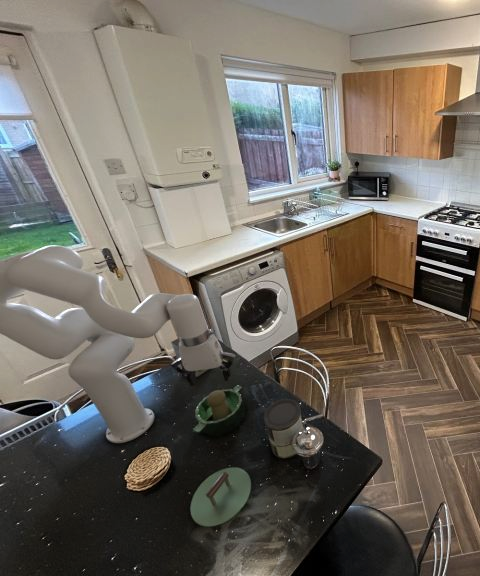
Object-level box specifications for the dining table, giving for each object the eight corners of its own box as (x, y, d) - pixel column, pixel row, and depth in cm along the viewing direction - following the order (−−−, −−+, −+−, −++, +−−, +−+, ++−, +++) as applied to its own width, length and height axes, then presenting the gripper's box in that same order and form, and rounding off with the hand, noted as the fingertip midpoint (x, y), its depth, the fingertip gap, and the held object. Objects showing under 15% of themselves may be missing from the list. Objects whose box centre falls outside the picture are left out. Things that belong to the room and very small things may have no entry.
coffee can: (264, 453, 94) (255, 422, 87) (284, 425, 102) (278, 395, 96) (293, 464, 91) (286, 433, 84) (311, 434, 99) (307, 404, 93)
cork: (225, 426, 101) (217, 403, 96) (209, 423, 102) (200, 400, 97) (236, 411, 106) (229, 388, 101) (221, 408, 107) (213, 385, 102)
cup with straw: (305, 445, 96) (297, 400, 86) (332, 453, 94) (327, 408, 84) (291, 472, 89) (281, 426, 79) (319, 481, 87) (313, 435, 77)
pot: (183, 436, 98) (177, 423, 95) (227, 392, 114) (223, 379, 111) (218, 449, 95) (213, 435, 92) (258, 402, 110) (255, 389, 107)
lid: (177, 516, 79) (169, 502, 76) (221, 463, 91) (215, 449, 88) (224, 537, 75) (218, 524, 72) (263, 479, 87) (258, 465, 84)
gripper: (230, 324, 92) (242, 367, 101) (166, 331, 89) (184, 375, 97) (224, 340, 86) (238, 384, 94) (155, 348, 83) (175, 393, 91)
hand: (211, 380), depth 96 cm, fingers open, 9 cm apart
